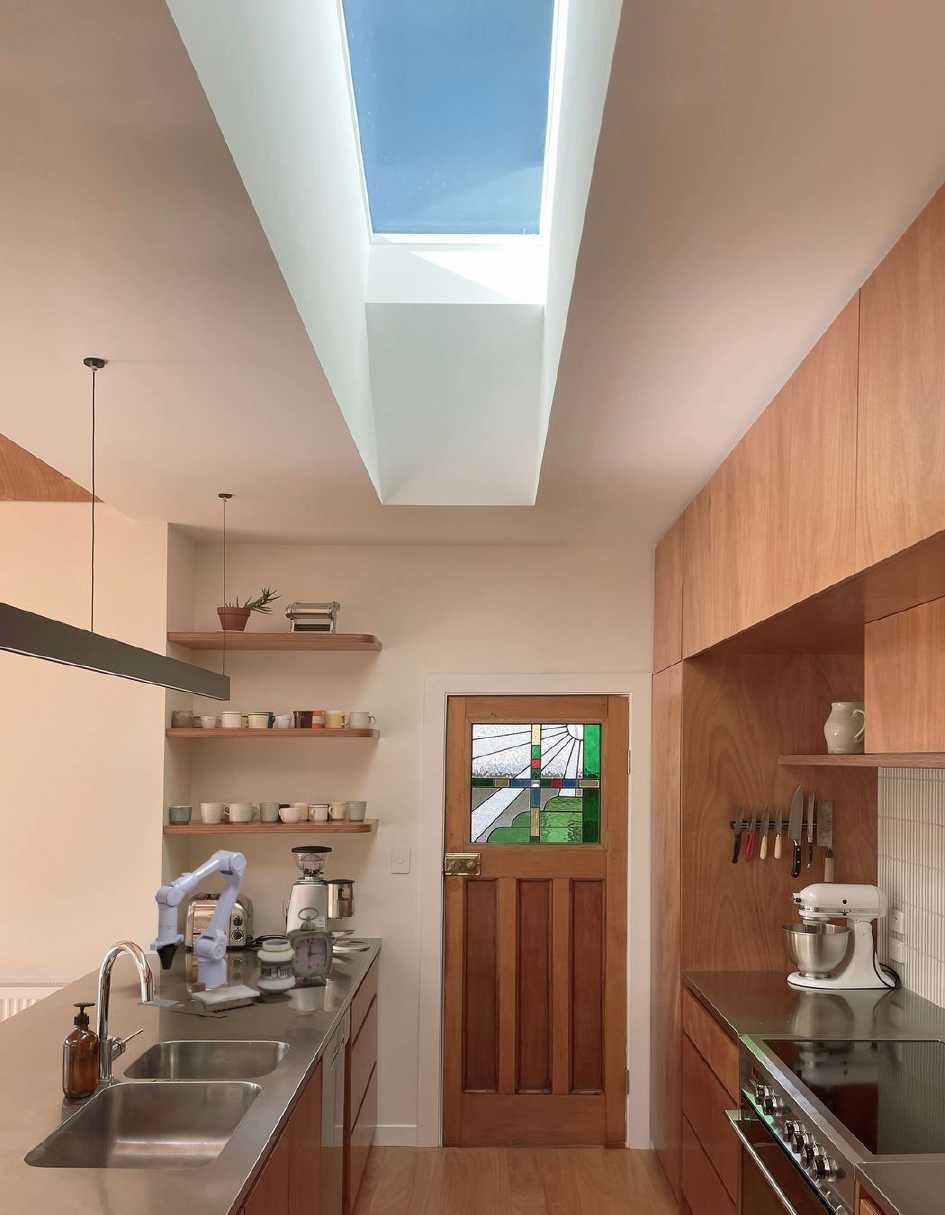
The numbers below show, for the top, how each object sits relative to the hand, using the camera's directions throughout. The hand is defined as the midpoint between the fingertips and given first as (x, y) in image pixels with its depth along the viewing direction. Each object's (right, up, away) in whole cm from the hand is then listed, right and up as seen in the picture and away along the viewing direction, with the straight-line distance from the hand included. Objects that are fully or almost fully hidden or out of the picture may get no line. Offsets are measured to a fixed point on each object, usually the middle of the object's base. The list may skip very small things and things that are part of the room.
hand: (166, 969), depth 337 cm
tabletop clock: (+42, -10, +14) cm, 46 cm away
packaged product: (+18, -5, -9) cm, 21 cm away
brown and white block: (+14, -8, -6) cm, 18 cm away
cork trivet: (+15, -7, -16) cm, 23 cm away
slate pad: (0, -8, -9) cm, 12 cm away
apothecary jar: (+35, -9, -4) cm, 37 cm away
